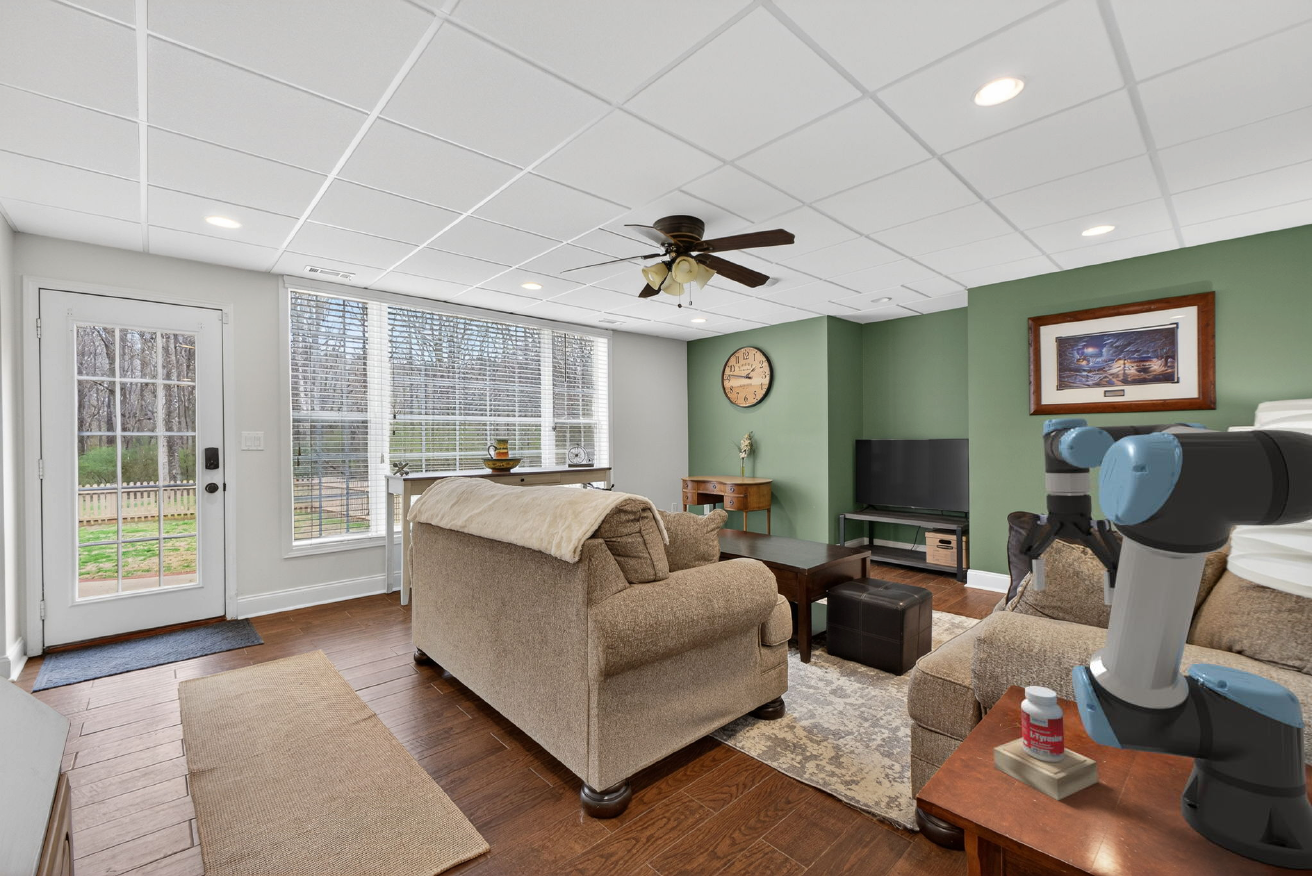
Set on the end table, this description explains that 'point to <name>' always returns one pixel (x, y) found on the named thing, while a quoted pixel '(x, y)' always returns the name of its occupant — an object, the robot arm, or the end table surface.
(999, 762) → the maple plinth
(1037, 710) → the pill bottle
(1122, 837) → the end table surface
